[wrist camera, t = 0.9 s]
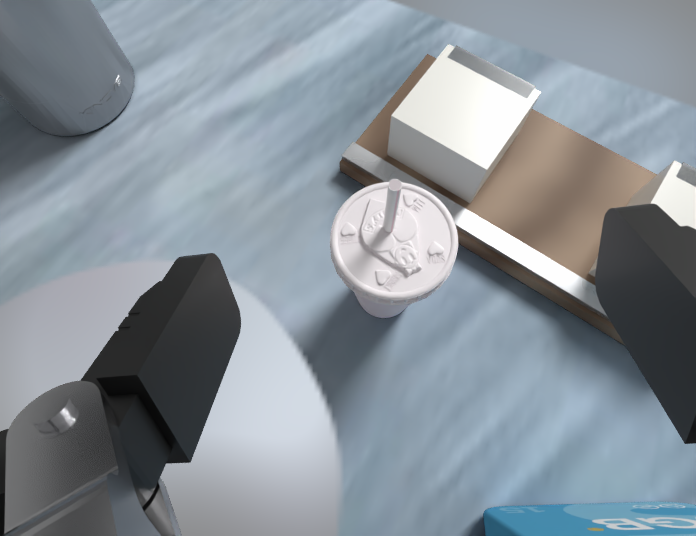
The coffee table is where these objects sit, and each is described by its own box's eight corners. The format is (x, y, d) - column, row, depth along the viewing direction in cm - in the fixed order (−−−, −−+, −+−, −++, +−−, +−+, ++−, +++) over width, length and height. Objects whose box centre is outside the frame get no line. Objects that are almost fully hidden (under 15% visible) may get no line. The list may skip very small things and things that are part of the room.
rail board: (340, 170, 35) (336, 123, 29) (425, 65, 38) (436, 5, 33) (700, 391, 29) (777, 384, 24) (766, 246, 32) (848, 210, 27)
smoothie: (400, 233, 33) (429, 105, 20) (448, 310, 31) (515, 225, 18) (321, 274, 32) (295, 168, 19) (365, 355, 30) (370, 300, 17)
